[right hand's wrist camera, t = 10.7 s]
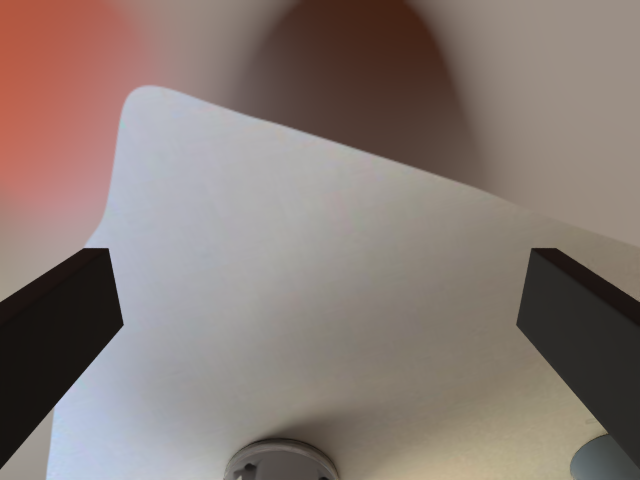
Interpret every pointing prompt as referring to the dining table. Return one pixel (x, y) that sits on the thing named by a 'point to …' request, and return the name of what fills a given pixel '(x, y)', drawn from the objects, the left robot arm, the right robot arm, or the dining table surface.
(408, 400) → the dining table surface
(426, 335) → the dining table surface
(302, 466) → the right robot arm
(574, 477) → the jar
